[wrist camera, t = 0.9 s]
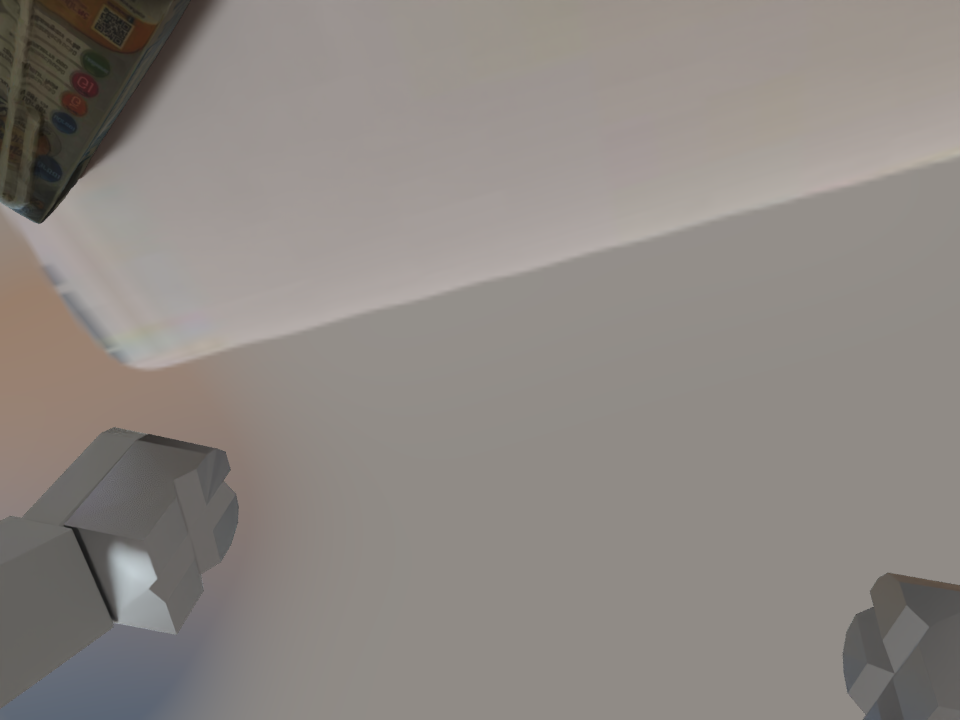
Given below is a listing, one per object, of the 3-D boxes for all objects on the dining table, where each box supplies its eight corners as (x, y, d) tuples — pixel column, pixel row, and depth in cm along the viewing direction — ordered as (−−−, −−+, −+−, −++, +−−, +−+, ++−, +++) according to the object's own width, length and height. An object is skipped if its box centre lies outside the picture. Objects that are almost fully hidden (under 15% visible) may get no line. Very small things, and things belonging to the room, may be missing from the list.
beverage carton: (-44, 108, 47) (-103, 157, 42) (78, -157, 37) (19, -132, 32) (79, 183, 51) (37, 236, 46) (217, -40, 41) (183, -3, 36)
